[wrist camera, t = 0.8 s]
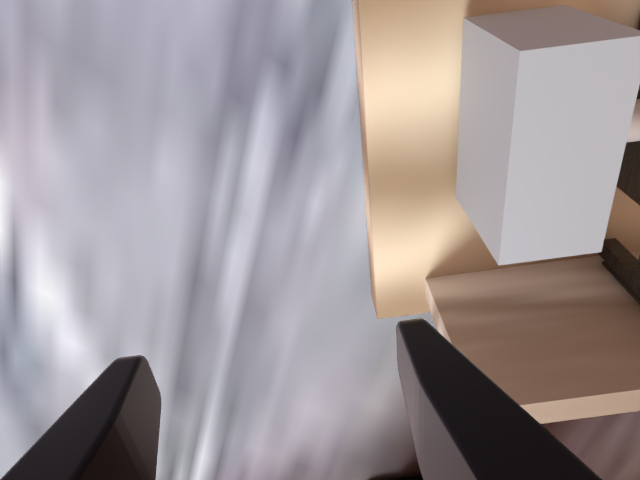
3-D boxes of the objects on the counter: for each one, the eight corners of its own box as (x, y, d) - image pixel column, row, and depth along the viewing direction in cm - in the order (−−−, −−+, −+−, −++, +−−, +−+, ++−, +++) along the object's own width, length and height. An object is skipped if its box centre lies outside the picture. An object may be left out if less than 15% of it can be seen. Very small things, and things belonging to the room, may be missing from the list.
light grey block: (594, 179, 19) (669, 243, 15) (455, 197, 19) (498, 265, 15) (631, -4, 15) (738, 23, 12) (463, 17, 15) (520, 51, 12)
